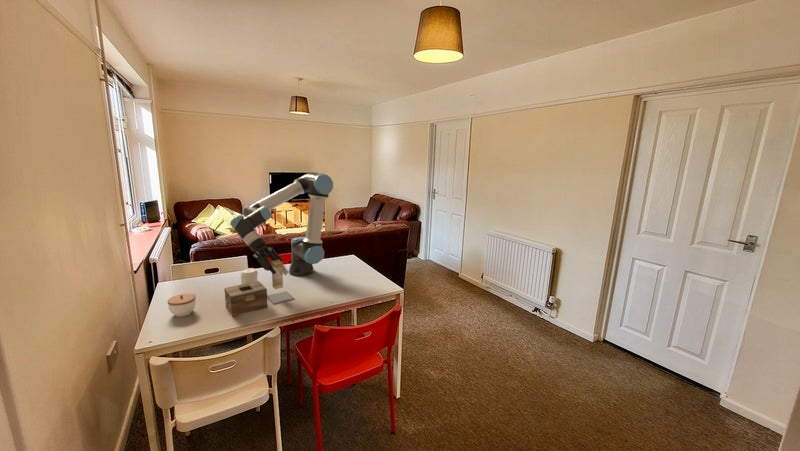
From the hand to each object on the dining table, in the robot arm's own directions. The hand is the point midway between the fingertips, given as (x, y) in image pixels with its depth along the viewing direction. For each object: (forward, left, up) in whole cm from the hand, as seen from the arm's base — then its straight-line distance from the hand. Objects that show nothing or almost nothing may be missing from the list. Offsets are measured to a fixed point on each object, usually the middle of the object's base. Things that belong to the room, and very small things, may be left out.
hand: (283, 275), depth 166 cm
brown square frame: (-2, -18, -13) cm, 23 cm away
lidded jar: (-12, -43, -14) cm, 47 cm away
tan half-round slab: (-21, -11, -14) cm, 27 cm away
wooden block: (-3, -2, -7) cm, 8 cm away
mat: (-3, -1, -13) cm, 14 cm away
